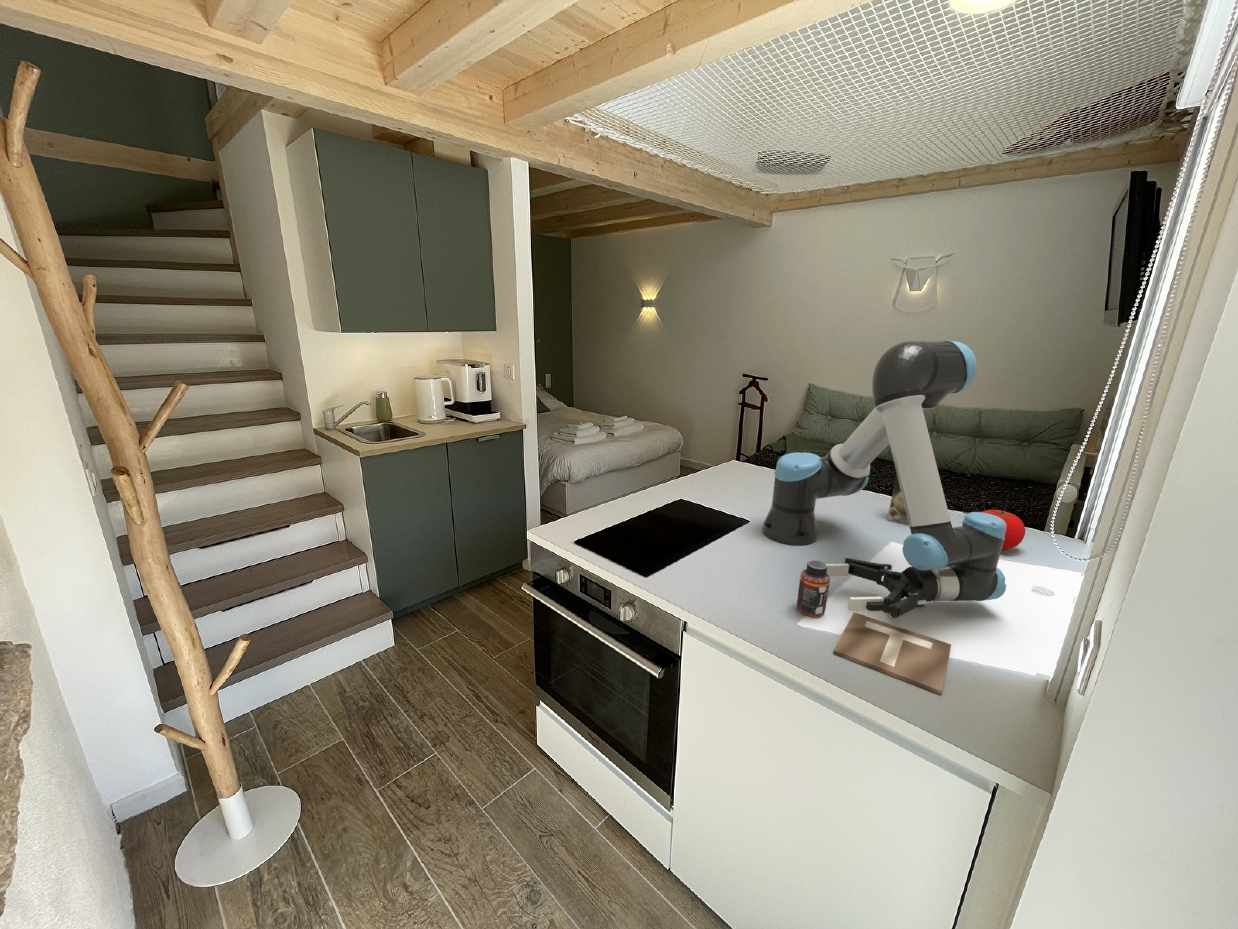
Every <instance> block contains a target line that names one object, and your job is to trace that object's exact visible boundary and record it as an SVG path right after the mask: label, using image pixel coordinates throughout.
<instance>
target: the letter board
mask: <svg viewBox="0 0 1238 929" xmlns="http://www.w3.org/2000/svg"><path fill="white" fill-rule="evenodd" d="M951 648H952V644H951V643H948V642H945V641H942V640H939V639H937V638H933V637H930V636H927V635H924V634H921V633H920V632H919V633H918V632H915V631H912V630H910V629H907V628H903V627H900V626H897V625H895V624H892V623H888V622H885V621H882V620H880V619H877V618H873V617H871V616H867V615H864V614H861V613H858V612H857V611H853V613H852V615H851V617H850V619H849V621H848V622H847V624H846V626H845V628H844V630H843V631H842V634H841V635H840V637H839V639H838V641H837V643H836V645H835V647H834V648H833V650H832V654H834V655H836V656H838V657H842V658H844V659H846V660H849V661H851V662H854V663H857V664H860V665H862V666H864V667H867V668H870V669H872V670H875V671H878V672H880V673H883V674H886V675H887V676H891V677H892V678H896V679H899V680H902V682H903V681H904V682H906V683H907V684H908V683H909V684H911V685H914V686H916V687H919V688H922V689H924V690H927V691H930V692H932V693H934V694H938V695H940V696H941V695H942V693H943V690H944V689H943V688H944V685H945V684H944V683H945V677H946V673H947V669H948V668H947V667H948V664H949V657H950V653H951Z"/></svg>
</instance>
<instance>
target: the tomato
mask: <svg viewBox="0 0 1238 929" xmlns="http://www.w3.org/2000/svg"><path fill="white" fill-rule="evenodd" d="M981 512H982V513H988V514H991V515H995V516H997V517H999V518H1001V519H1002V520H1004V521H1005V523H1006V532H1005V540H1004V543H1003V546H1002V550H1001V551H1005V550H1011V549H1014V548H1016V547H1018V546H1019V545H1020V544H1021V543H1022V542H1023V540H1024V538H1025V535H1026V528H1025V525H1024V523H1023V521H1022V519H1020V518H1019V516H1016V515H1015V514H1013V513H1011V512H1008V511H1005V510H1000V509H987V510H984V511H981Z"/></svg>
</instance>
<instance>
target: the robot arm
mask: <svg viewBox="0 0 1238 929" xmlns="http://www.w3.org/2000/svg"><path fill="white" fill-rule="evenodd" d="M977 363H978V362H977V358H976V356H975V353H974V352H973V350H972V349H971V348H970V347H969V346H968V345H967V344H964V343H962V342H961V341H953V340H950V339H944V340H934V341H933V340H931V341H930V340H928V341H926V340H925V341H923V340H922V341H918V340H917V341H914V340H913V341H912V340H911V341H910V340H909V341H903V342H899V343H897V344H895V345H893V346H891V347H890V348H888V349H887V350H885V352H884V353H883V354H882V355H881V356H880V358H879V359H878V360H877V362H876V365H875V367H874V370H873V375H872V380H871V381H872V382H871V389H872V390H871V392H872V399H873V403H874V408H873V409H872V411H871V412H870V413H869V414H868V415H867V416H866V417H865V419H864V420H863V421H862V422H861V423H860V425H858V427H857V428H856V429H855V430H854V431H853V433H852V434H850V436H849V437H848V438H847V439H846V441H844V442H843V443H840V444H839V443H838V444H836V445H834V446H833V447H832V448H831V449H830V450H829V451H828V453H827V454H826V455H825V456H819V455H818V454H815V453H812V452H805V451H803V452H790V453H786V454H784V455H782V456H781V457H779V459H778V460H777V462H776V467H775V468H776V469H775V470H774V482H773V493H772V499H771V500H772V501H771V507H770V509H769V511H768V513H767V514H766V517H765V519H764V522H763V525H762V526H763V527H762V533H763V534H764V535H765V536H766V537H768V538H769V539H771V540H773V541H776V542H778V543H782V544H785V545H786V544H787V545H796V546H803V545H805V546H806V545H810V544H813V543H815V542H816V541H817V540H818V534H819V527H818V525H817V524H818V523H817V519H816V514H815V510H816V508H815V507H816V502H817V500H818V499H824V498H834V497H839V496H842V497H843V496H844V497H846V496H851V495H854V494H857V493H859V492H861V491H862V490H863V489H865V487H866V486H867V484H868V482H869V479H870V478H869V476H870V474H871V472H870V471H871V463H873V461H874V460H875V459H876V458H877V457H878V456H879V455H880V454H881V453H882V452H883V451H884V450H885V449H886V448H887V447H888V446H889V447H890V452H891V456H892V460H893V462H894V463H893V464H894V467H895V472H896V476H898V480H899V484H900V488H901V493H902V497H903V501H904V505H905V509H906V513H907V517H908V521H909V529H910V533H911V535H908V536H906V538H905V539H904V540H903V545H902V547H901V548H902V554H903V557H904V558H905V560H906V562H907V563H908V564H909V566H908V567H906V568H905V569H904V570H902V571H896V570H895V571H894V570H893V569H892V568H893V565H892V564H889V563H888V564H887V563H878V562H872V561H866V560H860V559H855V558H850V557H845V559H844V563H828V564H826V563H825V564H826V565H827V572H826V573H827V574H828V575H829V577H848V575H851V576H855V577H858V578H862V579H865V580H867V581H872V582H875V583H876V585H879V586H881V587H884V588H885V589H887V591H888V592H889V594H887V596H884V598H883V597H882V596H856V597H852V596H851V597H849V599H848V605H847V611H849V612H860V611H861V612H864V611H868V612H883V613H885V614H887V613H888V614H889V616H890V618H893V619H896V618H899V617H900V616H902V615H903V616H904V615H905V614H907V613H910V612H912V611H913V610H915V609H921V608H925V607H926V603H930V602H961V601H963V602H965V601H966V602H972V601H973V602H975V601H976V602H982V601H990V600H997V599H999V598H1001V597H1002V596H1003V595H1004V594H1005V592H1006V591H1007V590H1006V589H1007V584H1006V582H1005V581H1006V577H1005V574H1004V573H1003V571H1002V570H1001V569H1000V568H999V567H998V563H999V559H1000V557H1001V554H1002V551H1003V550H1002V546H1003V543H1004V540H1005V532H1006V523H1005V521H1004V520H1002V519H1001V518H999V517H997V516H995V515H991V514H988V513H982V512H983V511H972V512H968V513H966V514H965V516H964V518H963V520H962V521H961V522H962V523H961V524H962V525H959V526H956V527H953V524H952V522H951V517H950V513H949V510H948V505H947V501H946V497H945V493H944V491H943V486H942V481H941V477H940V473H939V470H938V465H937V461H936V457H935V454H934V450H933V446H932V442H931V438H930V433H929V431H928V429H929V428H928V426H927V422H926V417H925V413H924V411H923V410H932V409H935V408H936V407H937V406H938V405H939V404H940V403H941V402H942V401H943V400H944V399H945V398H946V397H947V396H948V395H949V394H958V393H960V392H962V391H964V390H966V389H968V388H969V387H970V386H971V384H972V383H973V381H974V380H975V377H976V374H977V370H978V369H977ZM882 578H883V579H882Z"/></svg>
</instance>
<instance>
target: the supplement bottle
mask: <svg viewBox="0 0 1238 929" xmlns="http://www.w3.org/2000/svg"><path fill="white" fill-rule="evenodd" d="M826 572H827V565H826V563H825V562H823V561H820V560H809V561H807V564H806V568H804V569H803V570H802V571H801V573H800V578H799V583H798V592H797V599H796V610H798V612H800V613H801V614H802V615H803V616H804V615H805V616H807V617H810V618H820V617H821V616H824V614H825V612H826V607H827V601H828V596H829V591H830V590H829V589H830V583H831V576H829V575H828V574H827V573H826Z"/></svg>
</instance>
